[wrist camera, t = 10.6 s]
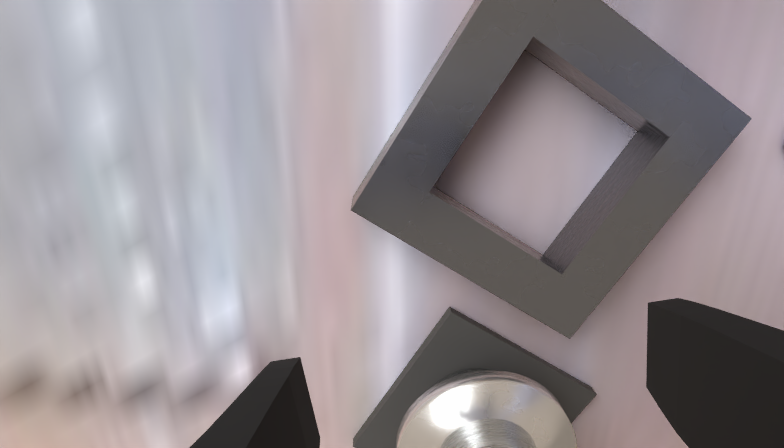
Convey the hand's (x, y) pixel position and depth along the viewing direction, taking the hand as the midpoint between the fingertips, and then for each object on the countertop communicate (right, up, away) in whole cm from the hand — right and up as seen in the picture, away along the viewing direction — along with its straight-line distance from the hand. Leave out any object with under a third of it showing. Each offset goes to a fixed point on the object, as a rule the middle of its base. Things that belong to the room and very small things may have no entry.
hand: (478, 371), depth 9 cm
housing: (+4, +6, +8) cm, 11 cm away
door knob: (+2, -5, +11) cm, 13 cm away
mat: (+2, -6, +12) cm, 13 cm away
